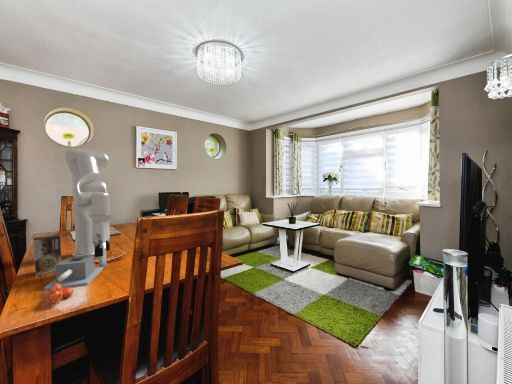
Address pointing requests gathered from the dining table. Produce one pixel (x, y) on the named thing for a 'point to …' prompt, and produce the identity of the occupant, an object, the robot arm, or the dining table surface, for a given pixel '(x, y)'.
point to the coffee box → (47, 253)
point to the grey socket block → (75, 272)
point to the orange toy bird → (58, 294)
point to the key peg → (103, 257)
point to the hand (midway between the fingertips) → (102, 253)
